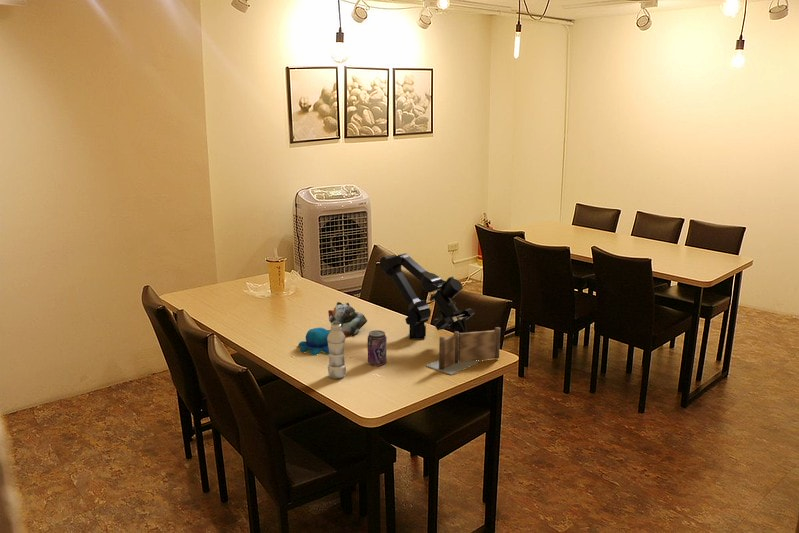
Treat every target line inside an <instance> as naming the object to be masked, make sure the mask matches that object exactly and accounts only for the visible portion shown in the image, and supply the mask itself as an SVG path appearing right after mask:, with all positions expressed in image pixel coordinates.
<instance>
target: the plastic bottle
mask: <svg viewBox="0 0 799 533" xmlns="http://www.w3.org/2000/svg"><path fill="white" fill-rule="evenodd" d="M341 329H342V327H341V323H339V322H333V323H331V322H330V333H329V335H328V338H327V340H328V347H329V354H328V355H329V357H328V358H329V359H328V366H327V373H328V376H329V377H330V379H331V378H332V379H336V380H337V379H342V378H344V377H345V375H346V373H347V368H346V362H345V346H346V345H345V344H346V336H345V335H344V334H343V332H342V331H341Z"/></svg>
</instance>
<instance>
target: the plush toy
mask: <svg viewBox="0 0 799 533" xmlns="http://www.w3.org/2000/svg"><path fill="white" fill-rule="evenodd" d="M330 332H331V330H328V329H326V328H324V327H321V326H320V327H314V328H311V329H309V330H308V331H307V332H306V334H305V340H303V341H300V342H298V345H297V346H299V348H300V349H299V353H301V352H303V353H302V354H305V353H304V352H306V353H309V352H310V353H309V354H310V355H311V356H317V354H318V355H320V354H321V353H323V354H324V355H326V356H328V355H329V347H328V340H327V338H328V335H329V333H330ZM301 347H302V348H301Z"/></svg>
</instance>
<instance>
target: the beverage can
mask: <svg viewBox="0 0 799 533" xmlns="http://www.w3.org/2000/svg"><path fill="white" fill-rule="evenodd" d="M387 338H388V337H387V336H386V332H385V331H384V330H379V329H378V330H377V329H376V330H371V331H369V332H368V336H367V363H368V364H370V365H372V366H378V367H379V366H382V365H383V364H386V363H387V343H388V342H387Z"/></svg>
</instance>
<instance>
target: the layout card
mask: <svg viewBox="0 0 799 533" xmlns="http://www.w3.org/2000/svg"><path fill="white" fill-rule="evenodd" d="M458 359H459V358H458ZM480 361H482V360H479V361H478V360H477V361H476V360H474V361H463V362H459V361H458V363H455V364H453V365H451V366H448V367H446V368H444V369H443V370H441V369H439V359H437V360H436V361H433V362H431V363H428V364H427V365H426V367H427V368H429V369H432V370H436V371H438V372H440V371H441V373H443V372H444V373H443V374H446V373H447V374H446V375H449V374H450V375H449V376H453V375H455V373H456V374H457V372H458V373H459V371H460V372H462V371H464V370H466V369H465V368H467V367H469V366H471V367H473V366H474V364H475V365H477V364H479V363H478V362H480ZM482 362H483V361H482ZM476 363H477V364H476ZM480 363H481V362H480ZM472 365H473V366H472ZM469 368H470V367H469ZM463 369H464V370H463ZM467 369H468V368H467ZM461 370H462V371H461Z"/></svg>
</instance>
